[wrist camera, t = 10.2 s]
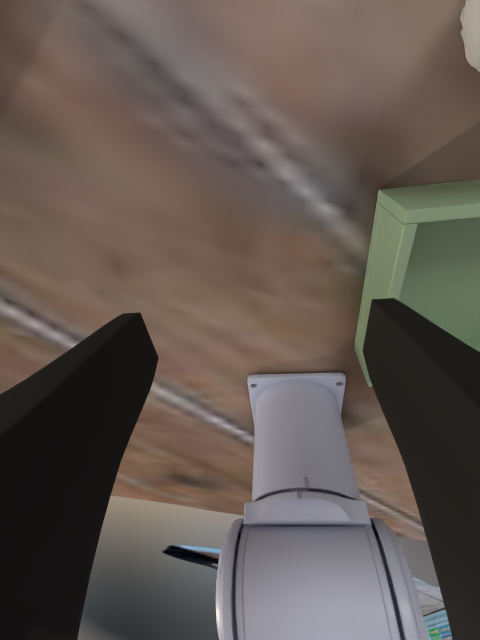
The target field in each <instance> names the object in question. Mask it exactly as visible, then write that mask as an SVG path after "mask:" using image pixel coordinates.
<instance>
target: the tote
mask: <svg viewBox="0 0 480 640" xmlns="http://www.w3.org/2000/svg"><path fill="white" fill-rule="evenodd" d="M385 298H395V299H397V300H398V301H400V302H402V303H403V304H405V305H407V306H408V307H410V308H411V309H413V310H414V311H416V312H417V313H419V314H420V315H422V316H423V317H425V318H427V319H428V320H430V321H431V322H433V323H434V324H436V325H437V326H439V327H440V328H442V329H443V330H445V331H447V332H448V333H450V334H451V335H453V336H454V337H456V338H458V339H459V340H461V341H462V342H464V343H466V344H467V345H469V346H471V347H472V348H474V349H476V350H477V351H479V352H480V179H474V180H465V181H455V182H446V183H437V184H427V185H418V186H409V187H399V188H390V189H381V190H379V191H378V197H377V204H376V210H375V217H374V223H373V229H372V236H371V242H370V249H369V255H368V261H367V268H366V274H365V280H364V287H363V293H362V300H361V306H360V312H359V319H358V325H357V332H356V338H355V344H354V349H355V352H356V355H357V357H358V360H359V363H360V366H361V368H362V371H363V374H364V377H365V379H366V382H367V385H368V387H373V386H372V384H371V381H370V378H369V374H368V371H367V367H366V363H365V359H364V355H363V351H362V350H363V345H364V339H365V334H366V328H367V323H368V317H369V312H370V306H371V301H372V299H385Z"/></svg>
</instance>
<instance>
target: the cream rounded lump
mask: <svg viewBox="0 0 480 640" xmlns="http://www.w3.org/2000/svg"><path fill="white" fill-rule="evenodd" d="M465 2H466V4H465V6H464V7H463V9H462V11H461V16H460V20H461V23H462V26H463V29H462V30H461V36H462V38H463V41H464V47H465V55H466V59H467V61H468V63H469V64H470V65H471V66H472V67H474V68H476V69H477V70H478V71H479V72H480V0H465Z"/></svg>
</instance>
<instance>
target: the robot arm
mask: <svg viewBox="0 0 480 640" xmlns="http://www.w3.org/2000/svg"><path fill="white" fill-rule="evenodd" d="M362 351H363V355H364V359H365V363H366V367H367V371H368V374H369V378H370V381H371V384H372V386H373V389H374V391H375V393H376V396H377V398H378V401H379V403H380V406H381V408H382V410H383V413H384V415H385V418H386V420H387V422H388V425H389V427H390V429H391V432H392V434H393V437H394V439H395V441H396V444H397V446H398V448H399V451H400V454H401V456H402V459H403V462H404V464H405V467H406V470H407V474H408V477H409V480H410V483H411V487H412V490H413V493H414V496H415V500H416V503H417V506H418V510H419V513H420V517H421V520H422V524H423V527H424V531H425V534H426V538H427V541H428V545H429V548H430V551H431V556H432V559H433V563H434V567H435V571H436V575H437V578H438V582H439V586H440V590H441V594H442V598H443V601H444V606H445V610H446V614H447V618H448V622H449V626H450V631H451V635H452V639H453V640H480V352H479V351H477V350H476V349H474V348H472V347H471V346H469V345H467V344H466V343H464V342H462V341H461V340H459V339H458V338H456V337H454V336H453V335H451V334H450V333H448V332H447V331H445V330H443V329H442V328H440V327H439V326H437V325H436V324H434V323H433V322H431V321H430V320H428V319H427V318H425V317H423V316H422V315H420V314H419V313H417V312H416V311H414V310H413V309H411V308H410V307H408V306H407V305H405V304H403V303H402V302H400V301H398V300H397V299H395V298H385V299H372V301H371V306H370V312H369V317H368V323H367V328H366V334H365V339H364V345H363V350H362ZM157 362H158V355H157V353H156V351H155V348H154V346H153V343H152V341H151V338H150V336H149V333H148V331H147V328H146V326H145V323H144V321H143V318H142V316H141V313H127V314H122V315H120V316H118V317H116V318H115V319H113V320H112V321H110V322H109V323H107V324H106V325H104V326H103V327H101V328H100V329H98V330H97V331H96V332H94V333H93V334H91V335H90V336H89V337H87V338H86V339H84V340H83V341H81V342H80V343H79V344H77V345H76V346H74V347H73V348H72V349H70V350H69V351H67V352H66V353H64V354H63V355H62V356H60V357H59V358H57V359H56V360H54V361H53V362H51V363H50V364H48V365H47V366H45V367H43V368H42V369H40V370H39V371H37V372H36V373H34V374H33V375H31V376H30V377H28V378H27V379H25V380H24V381H22V382H20V383H19V384H17V385H15V386H14V387H12V388H10V389H9V390H7V391H5V392H4V393H2V394H0V640H77V638H78V632H79V627H80V622H81V617H82V612H83V607H84V602H85V597H86V592H87V587H88V583H89V578H90V573H91V569H92V565H93V561H94V557H95V552H96V548H97V544H98V540H99V536H100V532H101V528H102V524H103V521H104V517H105V513H106V510H107V506H108V502H109V499H110V495H111V492H112V489H113V485H114V482H115V479H116V475H117V472H118V469H119V465H120V462H121V460H122V457H123V454H124V451H125V449H126V446H127V444H128V441H129V439H130V437H131V434H132V432H133V429H134V427H135V425H136V422H137V420H138V417H139V415H140V413H141V410H142V408H143V405H144V403H145V400H146V398H147V396H148V393H149V391H150V388H151V385H152V382H153V378H154V375H155V371H156V367H157ZM247 382H248V389H249V395H250V402H251V408H252V414H253V421H254V427H255V437H254V463H253V489H252V502H245V504H244V519H237V520H235V521H234V523H233V524H232V526H231V528H230V529H229V531H228V532H227V534H226V536H225V538H224V541H223V544H222V547H221V552H220V557H219V563H218V572H217V583H216V619H217V629H218V634H219V639H220V640H428V637H427V632H426V627H425V623H424V618H423V614H422V610H421V606H420V602H419V599H418V595H417V592H416V588H415V585H414V581H413V578H412V575H411V572H410V569H409V566H408V563H407V560H406V557H405V555H404V552H403V549H402V547H401V544H400V542H399V540H398V538H397V536H396V534H395V533H394V531H393V530H391V529H390V528H389V527H388V526H387V525H386V524H385V523H384V521H383V520H382V519H380V518H371V519H370V516H369V512H368V508H367V504H366V501H365V500H361V499H360V495H359V490H358V486H357V482H356V478H355V474H354V469H353V465H352V461H351V457H350V453H349V449H348V444H347V440H346V436H345V432H344V428H343V423H342V419H341V410H342V404H343V397H344V390H345V383H346V377H345V374H344V373H340V372H337V373H298V374H258V375H250V376H248V380H247Z"/></svg>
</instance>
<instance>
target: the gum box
mask: <svg viewBox="0 0 480 640" xmlns="http://www.w3.org/2000/svg"><path fill="white" fill-rule="evenodd" d="M423 618H424V623H425V627H426V632H427V637H428V640H453V639H452V635H451V631H450V626H449V622H448V618H447V614H446V610H445V609H444V610H441V611H439V612H435V613H432V614H430V615H427V616H424V617H423Z"/></svg>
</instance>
